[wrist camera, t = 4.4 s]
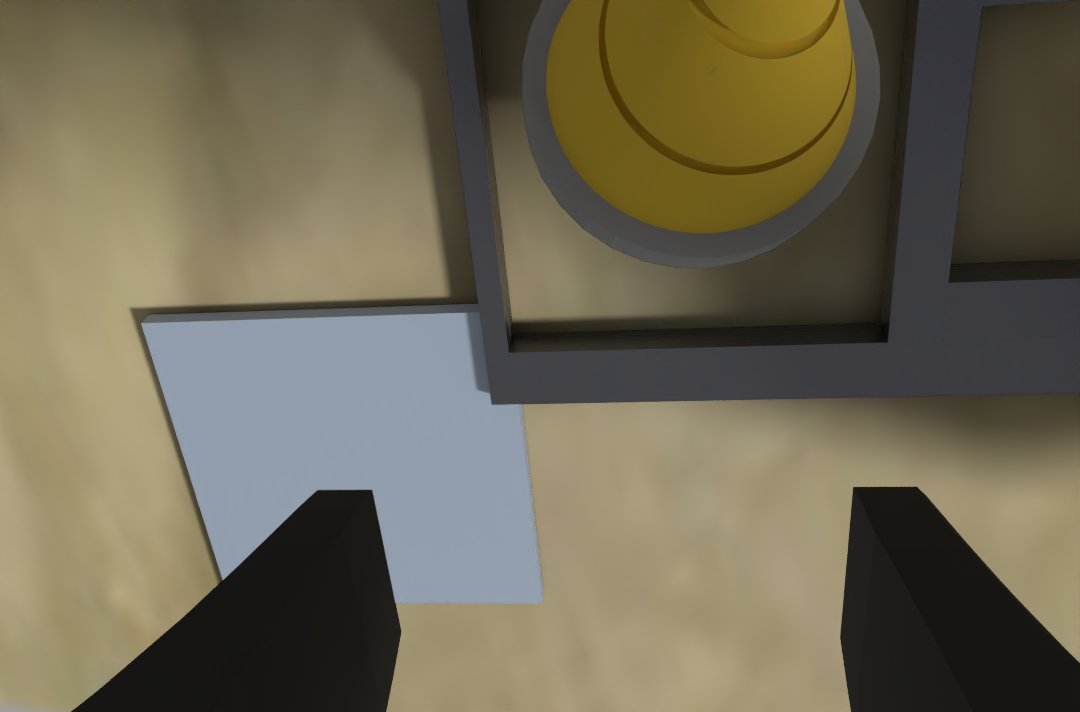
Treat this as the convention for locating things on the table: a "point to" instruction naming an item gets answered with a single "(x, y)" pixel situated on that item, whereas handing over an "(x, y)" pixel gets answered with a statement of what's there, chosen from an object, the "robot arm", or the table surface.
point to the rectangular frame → (817, 350)
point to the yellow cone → (698, 119)
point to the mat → (356, 438)
